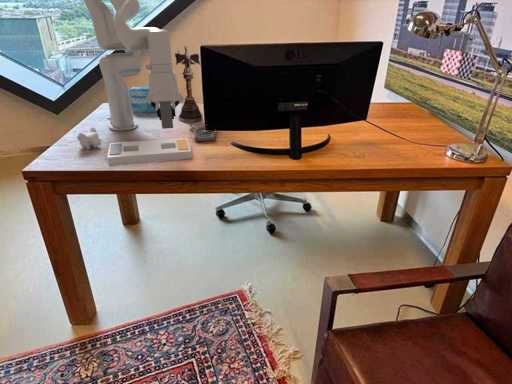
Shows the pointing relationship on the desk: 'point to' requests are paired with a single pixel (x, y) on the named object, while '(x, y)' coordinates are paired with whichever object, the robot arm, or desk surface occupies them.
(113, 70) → the robot arm
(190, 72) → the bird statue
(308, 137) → the desk surface
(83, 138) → the elephant figurine
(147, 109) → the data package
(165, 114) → the grey long rectangular block
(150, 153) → the socket block
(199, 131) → the graphics card
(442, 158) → the desk surface
